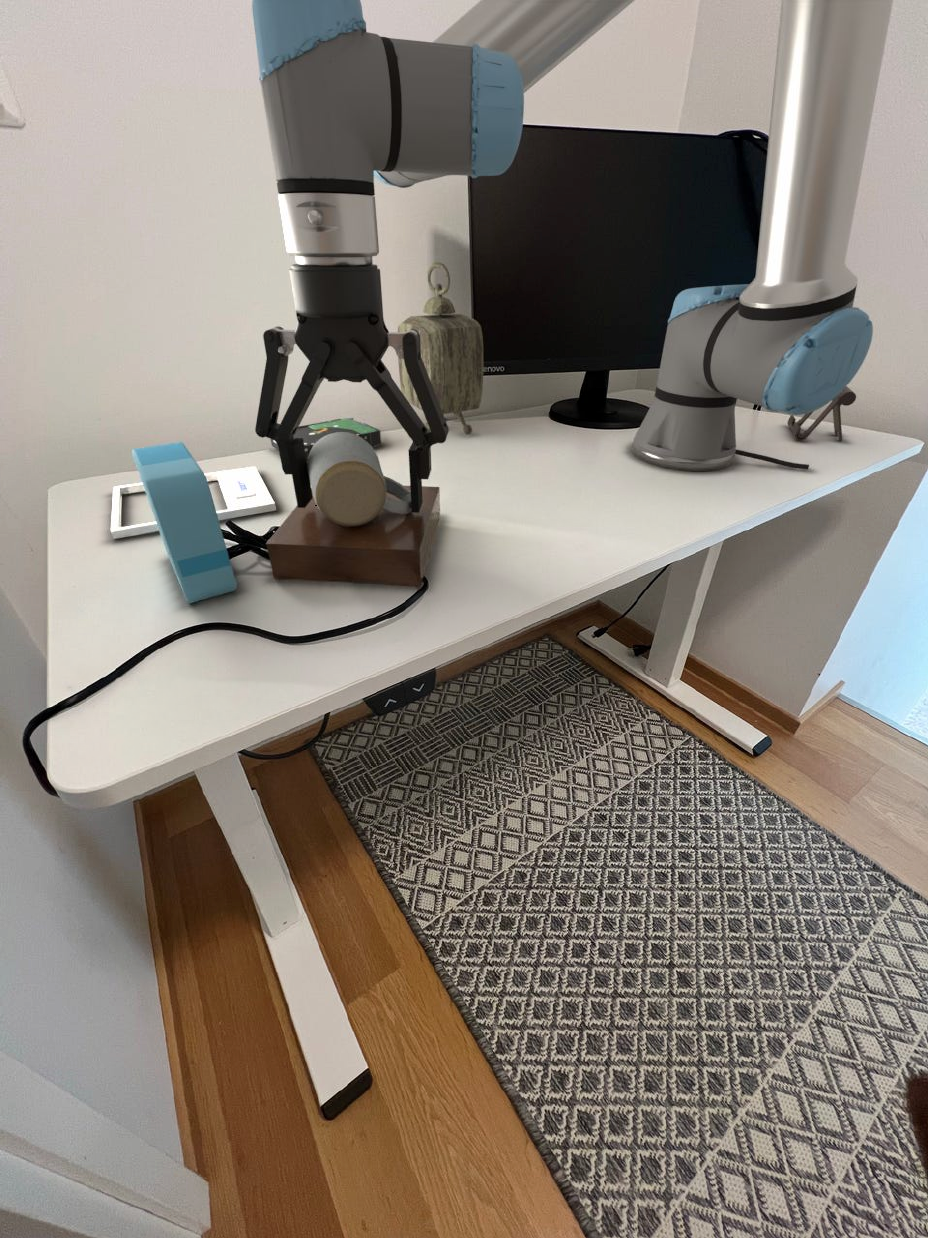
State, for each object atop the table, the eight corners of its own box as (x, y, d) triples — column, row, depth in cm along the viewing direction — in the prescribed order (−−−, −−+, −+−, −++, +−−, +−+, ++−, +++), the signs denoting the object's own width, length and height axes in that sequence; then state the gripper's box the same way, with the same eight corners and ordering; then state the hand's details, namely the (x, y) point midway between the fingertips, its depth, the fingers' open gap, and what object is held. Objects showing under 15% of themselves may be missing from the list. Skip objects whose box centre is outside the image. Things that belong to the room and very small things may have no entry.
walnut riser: (440, 517, 67) (439, 486, 64) (421, 586, 54) (419, 550, 51) (320, 512, 68) (316, 482, 65) (273, 578, 55) (265, 543, 52)
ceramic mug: (319, 535, 54) (308, 459, 49) (312, 503, 60) (302, 432, 56) (423, 524, 56) (421, 450, 52) (406, 494, 63) (403, 426, 58)
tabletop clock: (482, 436, 94) (486, 264, 79) (435, 444, 90) (431, 265, 76) (442, 416, 104) (440, 260, 90) (399, 422, 100) (389, 260, 86)
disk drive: (299, 466, 82) (383, 446, 89) (295, 448, 80) (381, 428, 87) (271, 449, 88) (351, 431, 96) (267, 431, 86) (349, 414, 94)
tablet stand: (785, 426, 100) (802, 377, 95) (833, 430, 98) (852, 381, 93) (793, 440, 93) (811, 388, 88) (844, 445, 91) (866, 392, 86)
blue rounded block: (240, 595, 52) (206, 474, 45) (190, 610, 50) (146, 485, 43) (212, 546, 60) (180, 437, 53) (168, 556, 58) (128, 445, 51)
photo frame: (274, 501, 67) (110, 529, 61) (276, 510, 68) (113, 538, 61) (254, 465, 78) (112, 485, 71) (256, 472, 79) (116, 493, 72)
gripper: (174, 260, 43) (238, 515, 56) (473, 264, 42) (469, 524, 54) (217, 257, 49) (265, 487, 62) (478, 260, 48) (474, 495, 60)
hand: (360, 505), depth 58 cm, fingers closed on ceramic mug, 11 cm apart
